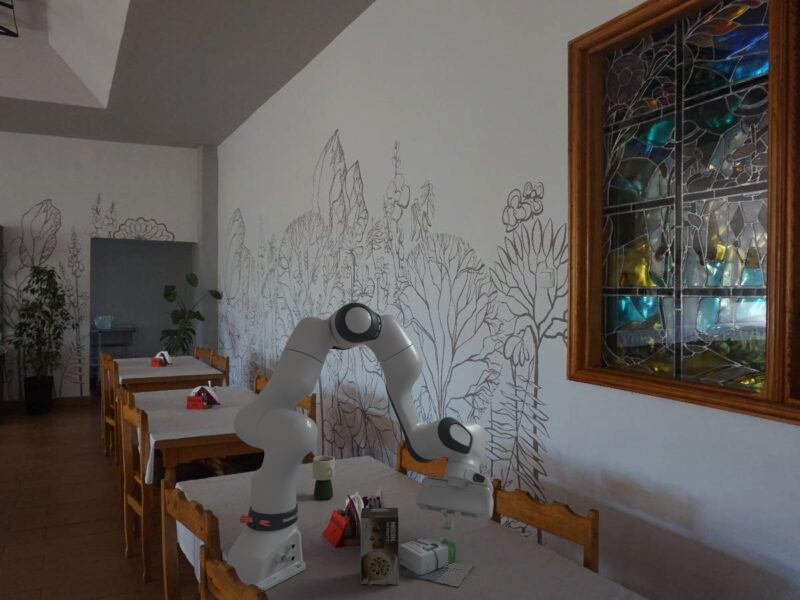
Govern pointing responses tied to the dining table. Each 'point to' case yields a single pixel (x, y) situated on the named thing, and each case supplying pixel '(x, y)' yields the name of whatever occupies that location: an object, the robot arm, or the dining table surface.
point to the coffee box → (379, 546)
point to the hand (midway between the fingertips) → (447, 528)
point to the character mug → (323, 476)
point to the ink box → (427, 554)
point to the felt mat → (429, 574)
